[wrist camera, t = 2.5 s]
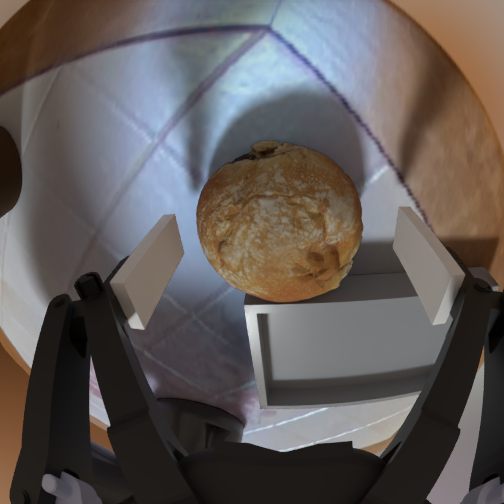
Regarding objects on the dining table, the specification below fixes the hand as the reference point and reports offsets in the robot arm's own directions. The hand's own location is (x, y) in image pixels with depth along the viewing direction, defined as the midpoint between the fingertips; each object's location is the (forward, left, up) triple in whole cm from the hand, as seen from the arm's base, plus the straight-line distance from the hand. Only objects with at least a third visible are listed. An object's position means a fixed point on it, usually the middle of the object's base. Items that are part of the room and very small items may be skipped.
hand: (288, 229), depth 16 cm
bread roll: (0, -1, -3) cm, 3 cm away
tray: (+8, -13, -3) cm, 16 cm away
